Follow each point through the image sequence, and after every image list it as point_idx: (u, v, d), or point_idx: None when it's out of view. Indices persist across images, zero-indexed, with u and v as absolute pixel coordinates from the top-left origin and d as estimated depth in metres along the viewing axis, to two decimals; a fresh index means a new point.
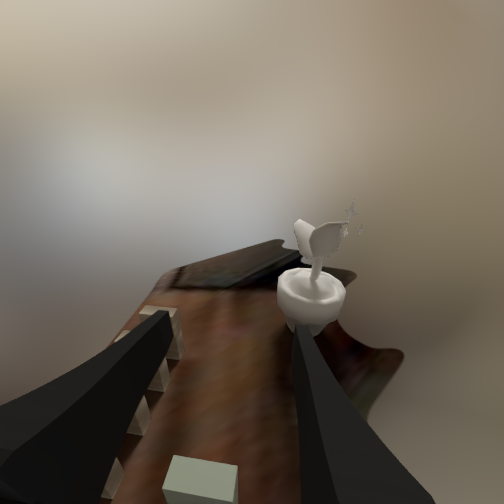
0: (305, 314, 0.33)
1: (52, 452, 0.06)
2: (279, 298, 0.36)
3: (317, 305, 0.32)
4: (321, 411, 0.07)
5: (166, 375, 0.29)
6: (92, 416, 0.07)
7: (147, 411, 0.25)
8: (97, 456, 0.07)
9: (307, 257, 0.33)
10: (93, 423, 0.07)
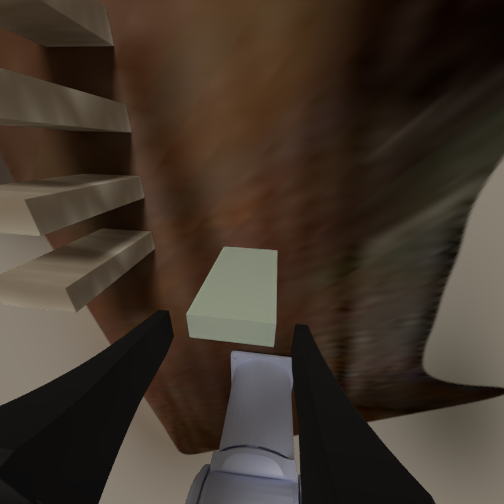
0: None
1: (52, 452, 0.06)
2: None
3: None
4: (321, 410, 0.07)
5: (110, 110, 0.14)
6: (92, 416, 0.07)
7: (125, 183, 0.16)
8: (97, 456, 0.07)
9: None
10: (93, 423, 0.07)
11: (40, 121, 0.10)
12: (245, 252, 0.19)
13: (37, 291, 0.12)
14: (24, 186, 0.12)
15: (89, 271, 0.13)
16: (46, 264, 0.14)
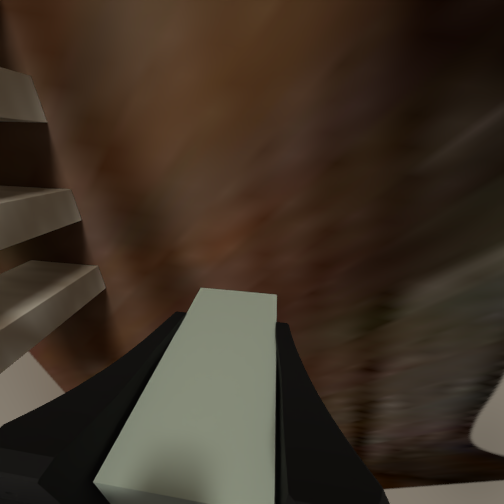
0: None
1: (86, 458, 0.06)
2: None
3: None
4: (288, 406, 0.07)
5: None
6: (120, 420, 0.07)
7: (35, 202, 0.10)
8: None
9: None
10: (121, 428, 0.07)
11: None
12: (230, 300, 0.13)
13: None
14: None
15: None
16: None
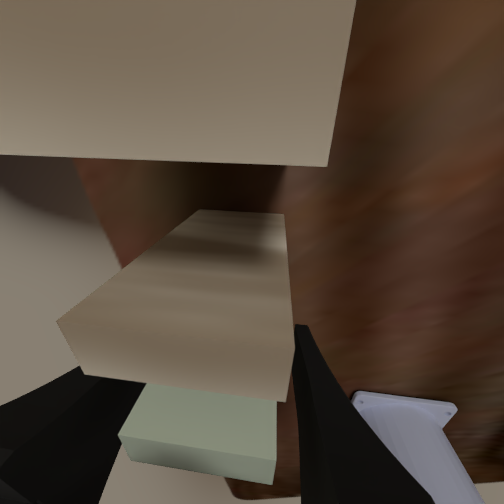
0: None
1: (52, 452, 0.06)
2: None
3: None
4: (321, 411, 0.07)
5: None
6: (92, 416, 0.07)
7: None
8: (97, 456, 0.07)
9: None
10: (93, 423, 0.07)
11: None
12: None
13: (197, 352, 0.04)
14: None
15: (287, 289, 0.06)
16: (169, 273, 0.06)
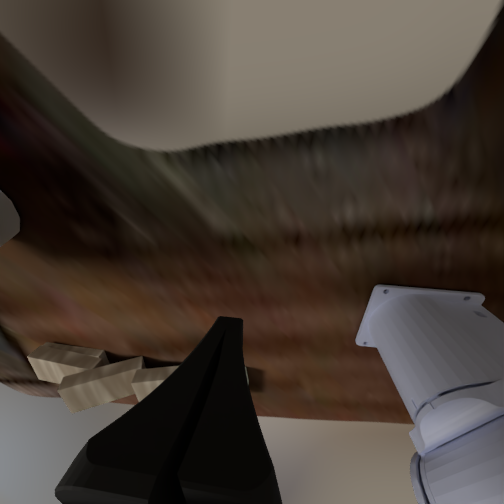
0: None
1: (173, 473, 0.05)
2: None
3: None
4: (214, 396, 0.07)
5: (85, 359, 0.28)
6: (191, 432, 0.07)
7: (125, 361, 0.28)
8: None
9: None
10: (192, 439, 0.07)
11: (42, 359, 0.28)
12: None
13: None
14: None
15: (150, 368, 0.28)
16: None
